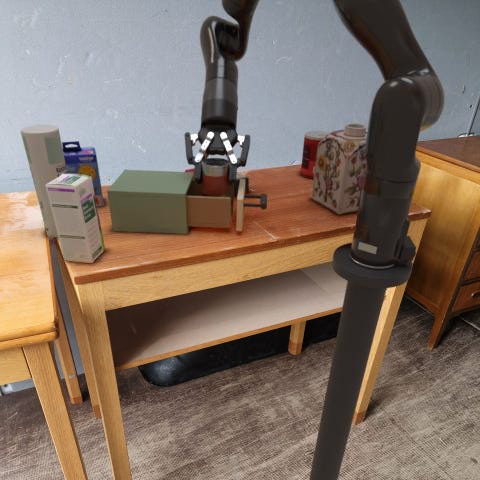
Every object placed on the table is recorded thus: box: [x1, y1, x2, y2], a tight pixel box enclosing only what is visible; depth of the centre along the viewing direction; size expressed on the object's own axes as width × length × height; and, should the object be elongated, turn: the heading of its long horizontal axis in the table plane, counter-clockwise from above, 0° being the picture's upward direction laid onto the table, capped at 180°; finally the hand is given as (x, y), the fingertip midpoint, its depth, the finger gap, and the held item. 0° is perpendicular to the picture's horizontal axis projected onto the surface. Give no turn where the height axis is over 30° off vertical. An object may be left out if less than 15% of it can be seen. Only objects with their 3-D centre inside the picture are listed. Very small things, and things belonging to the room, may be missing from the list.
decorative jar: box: [311, 122, 368, 216], centre depth 103 cm, size 12×12×18 cm
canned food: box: [300, 130, 331, 180], centre depth 123 cm, size 8×8×11 cm
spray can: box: [20, 124, 67, 239], centre depth 86 cm, size 6×6×20 cm
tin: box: [201, 157, 230, 197], centre depth 92 cm, size 6×6×8 cm
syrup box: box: [45, 174, 106, 264], centre depth 79 cm, size 6×6×14 cm
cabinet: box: [106, 169, 195, 235], centre depth 95 cm, size 16×14×9 cm
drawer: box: [186, 179, 268, 232], centre depth 95 cm, size 19×12×7 cm, turn 87°
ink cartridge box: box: [61, 140, 105, 208], centre depth 100 cm, size 10×6×14 cm, turn 108°
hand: (215, 182), depth 91 cm, fingers closed on tin, 6 cm apart
